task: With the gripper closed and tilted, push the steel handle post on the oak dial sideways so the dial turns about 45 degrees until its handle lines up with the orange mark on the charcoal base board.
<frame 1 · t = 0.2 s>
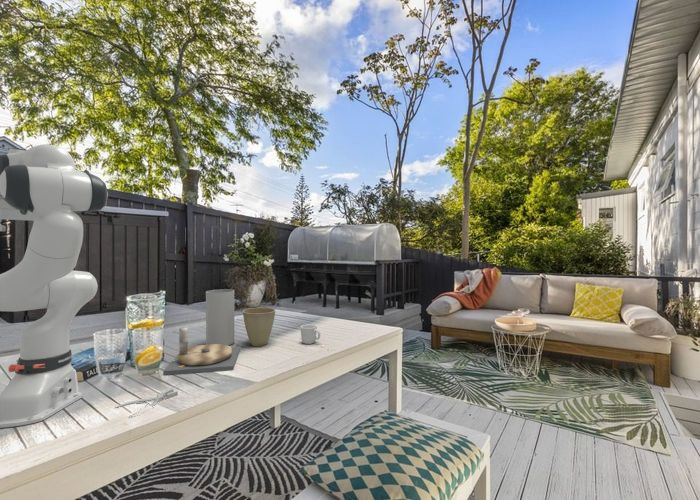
hand: (20, 231, 123), 52 cm above the table, tool tilted 20°, fingers open, 8 cm apart
dial base: (205, 361, 135), on the table
dial: (205, 356, 135), point 2 cm above the table, hinge at 0.0°
cup: (310, 343, 160), on the table
plant pot: (259, 344, 159), on the table
pliers: (150, 404, 100), on the table
cylinder vase: (220, 344, 159), on the table
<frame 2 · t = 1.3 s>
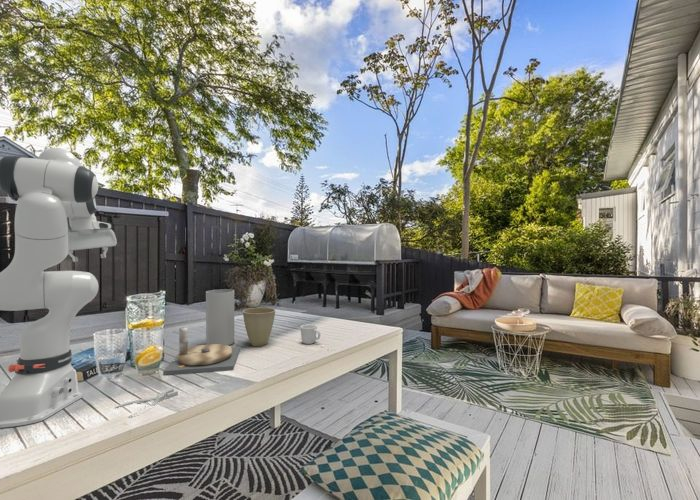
hand: (90, 259, 139), 41 cm above the table, tool pointing down, fingers open, 8 cm apart
nothing on the table moved.
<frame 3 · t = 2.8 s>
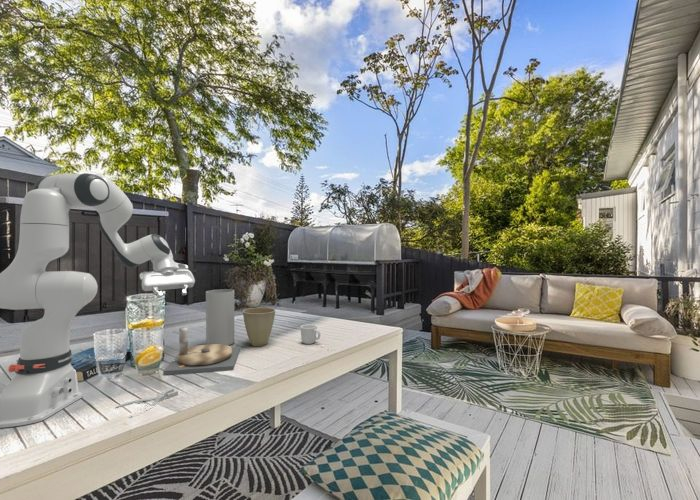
hand: (172, 295, 141), 26 cm above the table, tool tilted 45°, fingers open, 8 cm apart
nothing on the table moved.
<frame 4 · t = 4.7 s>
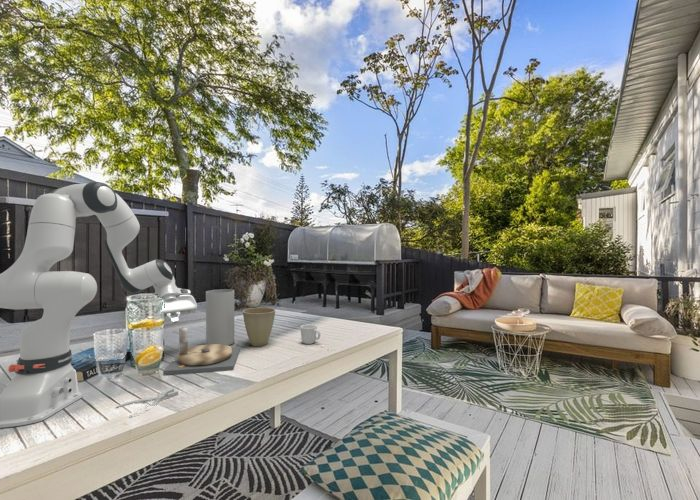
hand: (175, 322, 140), 14 cm above the table, tool tilted 45°, fingers closed
nothing on the table moved.
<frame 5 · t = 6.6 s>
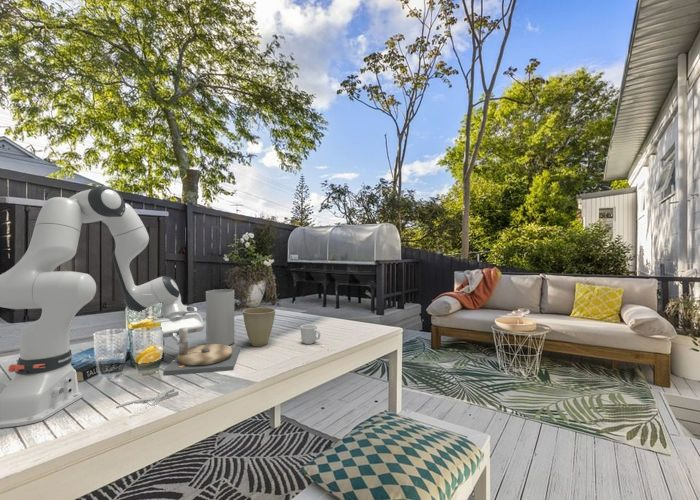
hand: (181, 343, 134), 8 cm above the table, tool tilted 45°, fingers closed, pressing on dial
dial: (205, 356, 135), point 2 cm above the table, hinge at 0.8°, touching gripper
everything else where it was.
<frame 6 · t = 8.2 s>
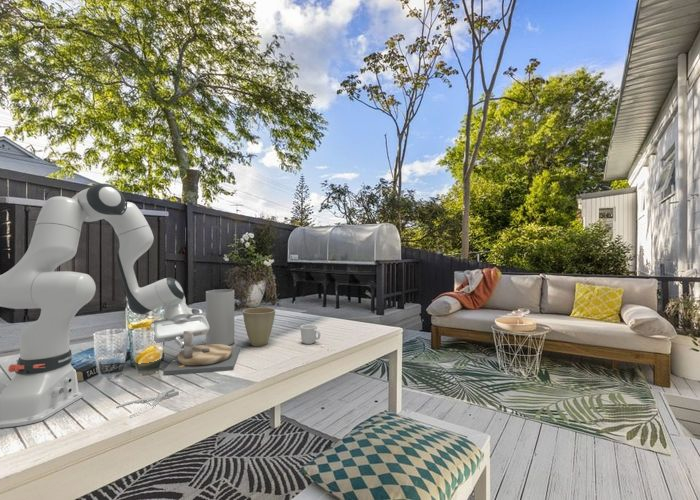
hand: (186, 346, 130), 8 cm above the table, tool tilted 45°, fingers closed on dial
dial: (205, 356, 135), point 2 cm above the table, hinge at 42.6°, touching gripper
everything else where it was.
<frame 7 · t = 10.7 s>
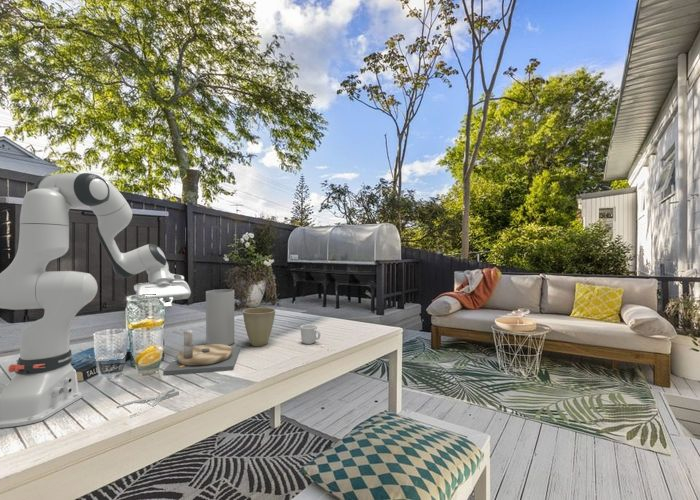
hand: (167, 307, 138), 21 cm above the table, tool tilted 45°, fingers closed
dial: (205, 356, 135), point 2 cm above the table, hinge at 43.1°
everything else where it was.
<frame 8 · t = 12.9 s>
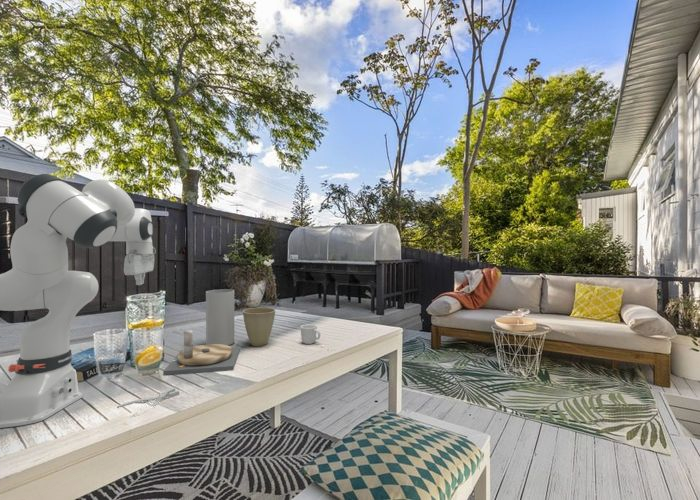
hand: (139, 284, 133), 31 cm above the table, tool pointing down, fingers closed
nothing on the table moved.
at the end: dial at +43° (first picture: +0°) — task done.
